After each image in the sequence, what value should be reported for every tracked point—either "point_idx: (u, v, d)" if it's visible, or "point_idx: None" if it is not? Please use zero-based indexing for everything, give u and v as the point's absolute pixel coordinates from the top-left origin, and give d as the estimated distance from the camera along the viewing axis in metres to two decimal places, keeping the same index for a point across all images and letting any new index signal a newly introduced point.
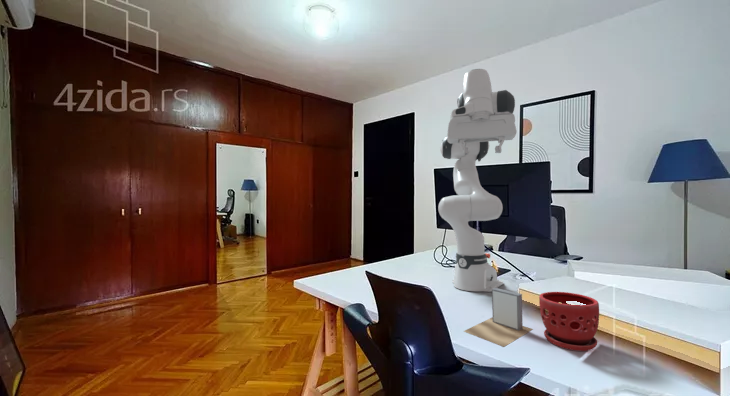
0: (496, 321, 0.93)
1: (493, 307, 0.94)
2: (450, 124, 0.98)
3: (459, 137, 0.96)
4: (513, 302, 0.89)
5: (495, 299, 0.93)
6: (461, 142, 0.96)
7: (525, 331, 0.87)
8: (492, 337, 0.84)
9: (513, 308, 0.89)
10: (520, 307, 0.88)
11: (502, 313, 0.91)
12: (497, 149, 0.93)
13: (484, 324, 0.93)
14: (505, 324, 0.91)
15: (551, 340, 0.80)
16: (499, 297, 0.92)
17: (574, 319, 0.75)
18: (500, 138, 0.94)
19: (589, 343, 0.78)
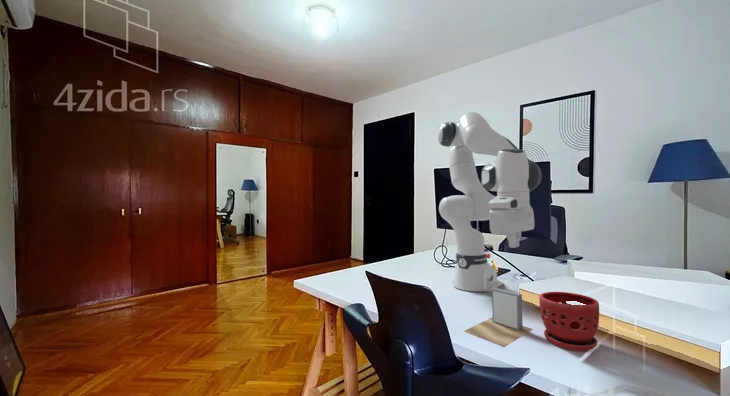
0: (496, 321, 0.93)
1: (493, 307, 0.94)
2: (505, 218, 0.87)
3: (508, 233, 0.89)
4: (513, 302, 0.89)
5: (495, 299, 0.93)
6: (513, 236, 0.92)
7: (525, 331, 0.87)
8: (492, 337, 0.84)
9: (513, 308, 0.89)
10: (520, 307, 0.88)
11: (502, 313, 0.91)
12: (517, 245, 0.94)
13: (484, 324, 0.93)
14: (505, 324, 0.91)
15: (551, 340, 0.80)
16: (499, 297, 0.92)
17: (575, 319, 0.75)
18: (519, 233, 0.94)
19: (589, 343, 0.78)
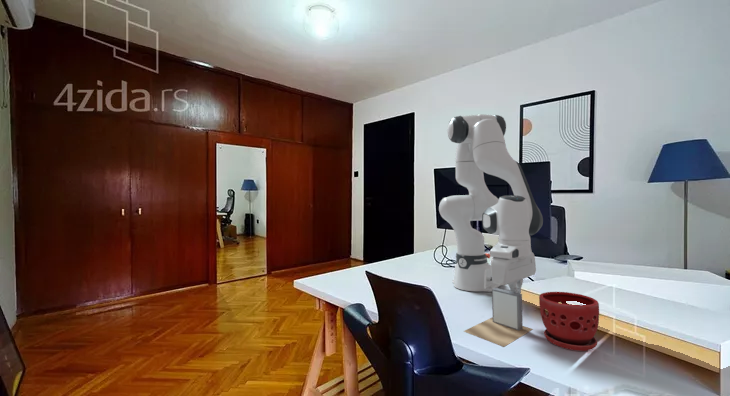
0: (496, 321, 0.93)
1: (493, 307, 0.94)
2: (506, 269, 0.87)
3: (509, 282, 0.89)
4: (513, 302, 0.89)
5: (495, 299, 0.93)
6: (515, 284, 0.92)
7: (525, 331, 0.87)
8: (492, 337, 0.84)
9: (513, 308, 0.89)
10: (520, 307, 0.88)
11: (502, 313, 0.91)
12: (519, 292, 0.94)
13: (484, 324, 0.93)
14: (505, 324, 0.91)
15: (551, 340, 0.80)
16: (499, 297, 0.92)
17: (574, 319, 0.75)
18: (521, 280, 0.94)
19: (589, 343, 0.78)
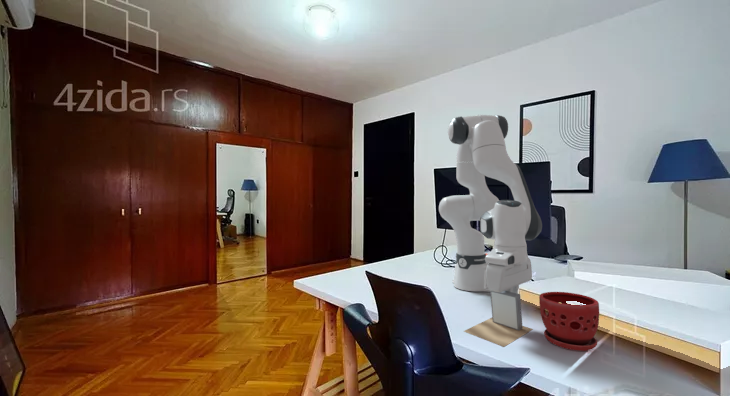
0: (496, 321, 0.93)
1: (492, 307, 0.93)
2: (502, 276, 0.85)
3: (505, 289, 0.87)
4: (512, 303, 0.88)
5: (494, 299, 0.93)
6: (511, 290, 0.91)
7: (525, 331, 0.87)
8: (492, 337, 0.84)
9: (512, 309, 0.88)
10: (519, 307, 0.88)
11: (501, 313, 0.91)
12: None
13: (484, 324, 0.93)
14: (505, 324, 0.91)
15: (551, 340, 0.80)
16: (498, 298, 0.92)
17: (575, 319, 0.75)
18: (516, 286, 0.93)
19: (589, 343, 0.78)
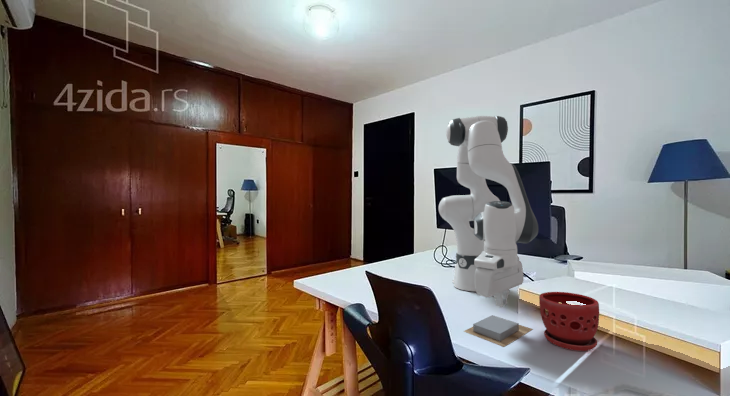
0: None
1: None
2: (490, 280, 0.82)
3: (494, 294, 0.84)
4: None
5: None
6: (501, 295, 0.88)
7: (525, 331, 0.87)
8: None
9: None
10: (507, 333, 0.84)
11: None
12: (504, 303, 0.89)
13: None
14: None
15: (551, 340, 0.80)
16: None
17: (575, 319, 0.75)
18: (507, 291, 0.90)
19: (589, 343, 0.78)
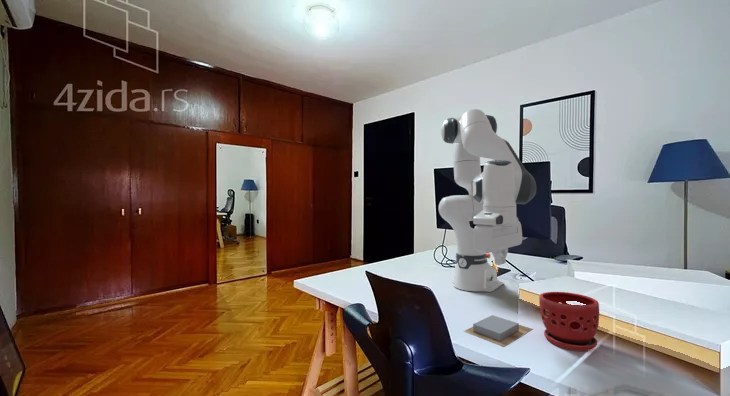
0: None
1: None
2: (489, 236, 0.82)
3: (493, 250, 0.84)
4: None
5: None
6: (499, 253, 0.88)
7: (525, 331, 0.87)
8: None
9: None
10: (507, 333, 0.84)
11: None
12: (503, 262, 0.89)
13: None
14: None
15: (551, 340, 0.80)
16: None
17: (575, 319, 0.75)
18: (506, 249, 0.90)
19: (589, 343, 0.78)
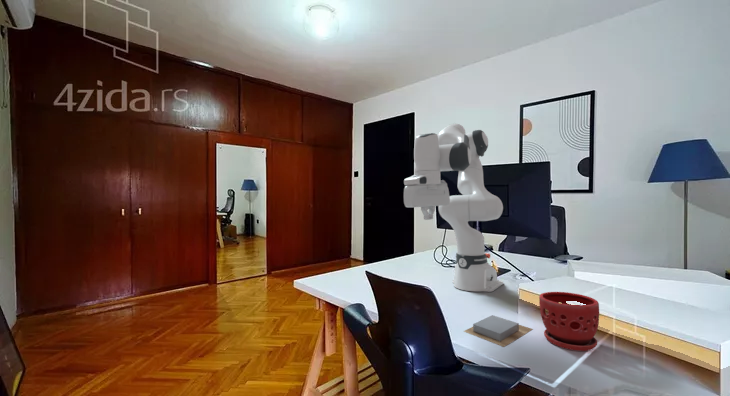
0: None
1: None
2: (414, 192, 1.01)
3: (418, 206, 1.03)
4: None
5: None
6: (426, 209, 1.06)
7: (525, 331, 0.87)
8: None
9: None
10: (507, 333, 0.84)
11: None
12: (430, 217, 1.08)
13: None
14: None
15: (551, 340, 0.80)
16: None
17: (575, 319, 0.75)
18: (433, 207, 1.08)
19: (589, 343, 0.78)
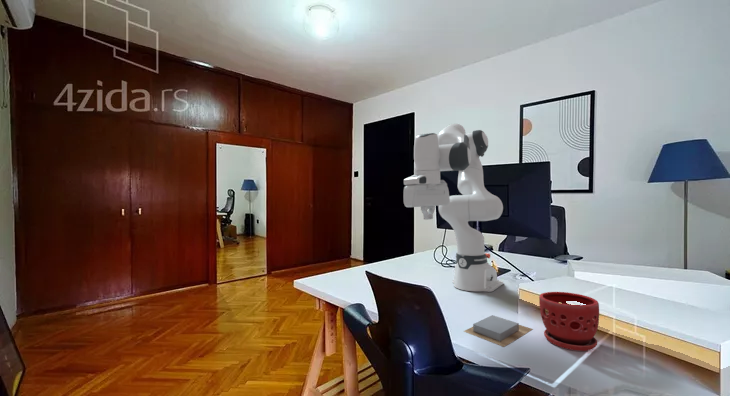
0: None
1: None
2: (414, 192, 1.01)
3: (418, 205, 1.03)
4: None
5: None
6: (426, 209, 1.06)
7: (525, 331, 0.87)
8: None
9: None
10: (507, 333, 0.84)
11: None
12: (430, 217, 1.08)
13: None
14: None
15: (551, 340, 0.80)
16: None
17: (574, 319, 0.75)
18: (433, 207, 1.08)
19: (589, 343, 0.78)
